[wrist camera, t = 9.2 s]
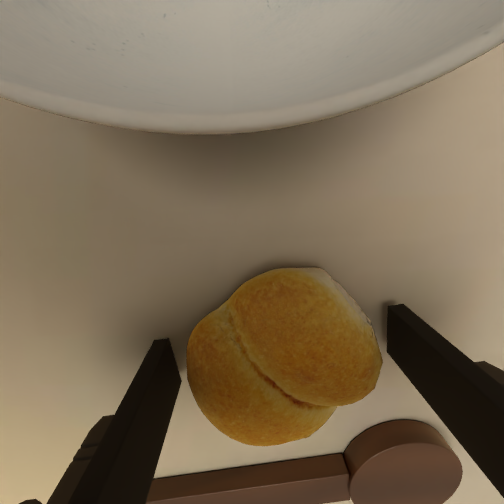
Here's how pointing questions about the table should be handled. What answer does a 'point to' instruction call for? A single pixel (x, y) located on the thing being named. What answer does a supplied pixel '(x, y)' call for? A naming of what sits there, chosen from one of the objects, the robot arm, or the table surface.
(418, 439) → the wooden spoon
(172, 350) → the robot arm
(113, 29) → the chinaware
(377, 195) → the table surface
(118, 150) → the table surface
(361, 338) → the bread roll
